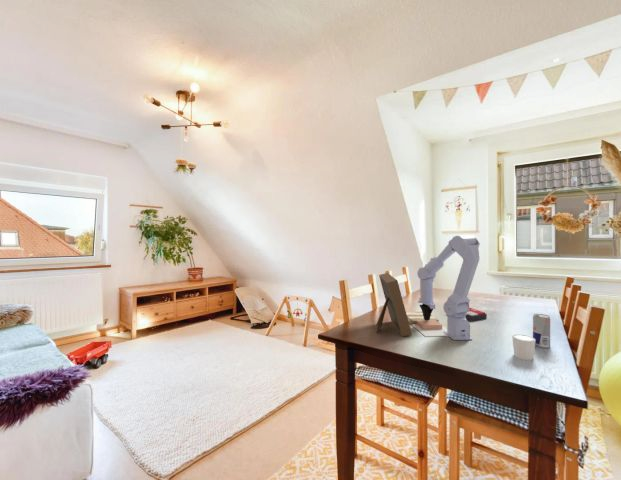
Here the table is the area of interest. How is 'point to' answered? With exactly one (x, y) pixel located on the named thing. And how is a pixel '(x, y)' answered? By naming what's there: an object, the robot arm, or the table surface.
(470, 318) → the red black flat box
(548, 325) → the energy drink
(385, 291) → the photo frame
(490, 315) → the table surface
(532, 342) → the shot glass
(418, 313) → the deck
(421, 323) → the tile
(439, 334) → the mat
